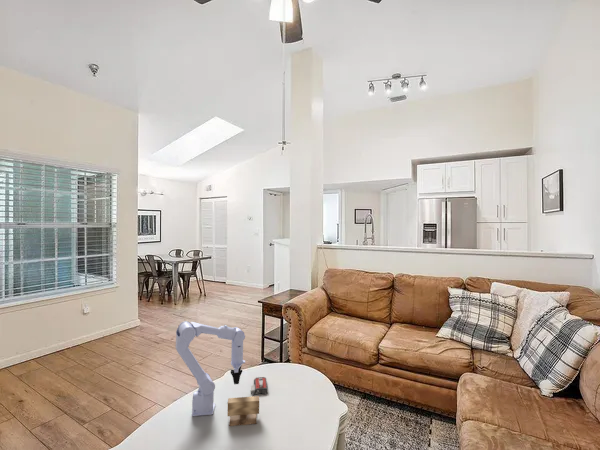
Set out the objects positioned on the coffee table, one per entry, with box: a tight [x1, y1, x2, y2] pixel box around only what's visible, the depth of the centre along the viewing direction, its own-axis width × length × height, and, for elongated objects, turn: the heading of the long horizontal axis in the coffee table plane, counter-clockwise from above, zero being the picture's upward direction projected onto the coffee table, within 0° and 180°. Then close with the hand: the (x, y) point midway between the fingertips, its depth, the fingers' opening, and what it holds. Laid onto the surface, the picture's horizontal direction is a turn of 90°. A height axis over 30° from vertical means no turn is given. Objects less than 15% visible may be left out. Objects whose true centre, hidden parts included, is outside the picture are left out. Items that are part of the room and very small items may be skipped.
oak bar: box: [227, 395, 260, 417], centre depth 132 cm, size 14×4×6 cm, turn 99°
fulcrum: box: [228, 414, 258, 427], centre depth 132 cm, size 12×8×3 cm, turn 99°
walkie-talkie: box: [250, 376, 268, 397], centre depth 154 cm, size 9×4×20 cm
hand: (236, 379), depth 146 cm, fingers open, 7 cm apart
